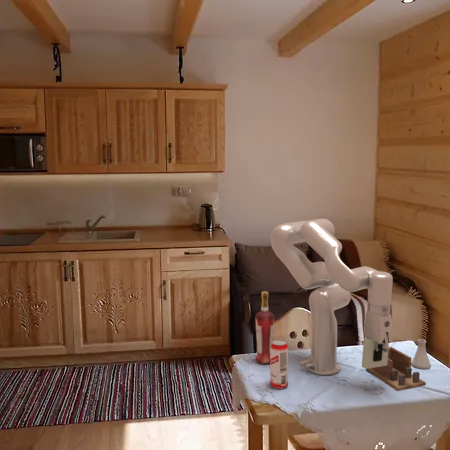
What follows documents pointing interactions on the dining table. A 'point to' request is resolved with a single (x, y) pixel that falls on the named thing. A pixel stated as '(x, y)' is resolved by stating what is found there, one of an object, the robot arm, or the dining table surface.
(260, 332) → the liquor
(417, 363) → the flask
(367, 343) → the block
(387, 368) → the cabinet
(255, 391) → the dining table surface
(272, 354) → the beer can
